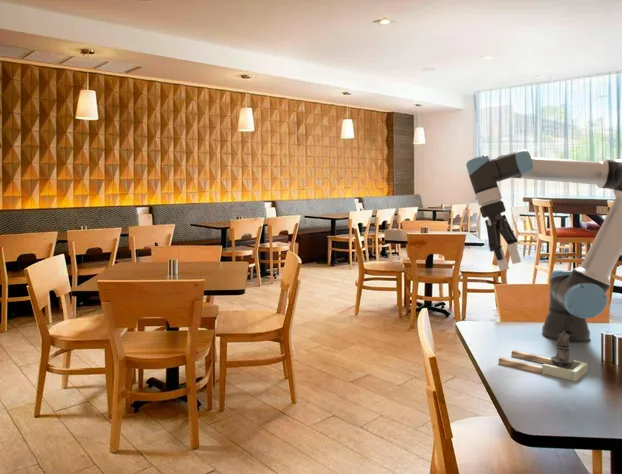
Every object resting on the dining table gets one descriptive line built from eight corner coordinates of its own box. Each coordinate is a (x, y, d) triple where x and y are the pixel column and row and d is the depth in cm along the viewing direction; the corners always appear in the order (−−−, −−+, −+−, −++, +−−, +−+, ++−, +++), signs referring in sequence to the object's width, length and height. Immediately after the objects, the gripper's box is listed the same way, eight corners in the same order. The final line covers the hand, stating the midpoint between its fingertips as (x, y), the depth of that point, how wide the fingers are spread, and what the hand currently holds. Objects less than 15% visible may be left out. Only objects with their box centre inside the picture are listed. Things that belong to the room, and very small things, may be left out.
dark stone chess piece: (575, 376, 152) (578, 333, 151) (552, 374, 153) (555, 332, 152) (570, 369, 158) (572, 328, 156) (548, 367, 159) (550, 327, 158)
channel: (498, 363, 162) (498, 358, 162) (513, 354, 170) (513, 350, 170) (541, 373, 154) (541, 368, 154) (554, 364, 162) (555, 359, 162)
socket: (541, 373, 154) (542, 364, 154) (554, 364, 162) (555, 356, 161) (575, 381, 148) (576, 372, 148) (587, 371, 156) (587, 363, 155)
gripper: (492, 204, 190) (510, 263, 189) (466, 209, 170) (487, 275, 169) (513, 197, 185) (532, 257, 184) (489, 202, 165) (510, 270, 164)
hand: (510, 266), depth 176 cm, fingers open, 13 cm apart
